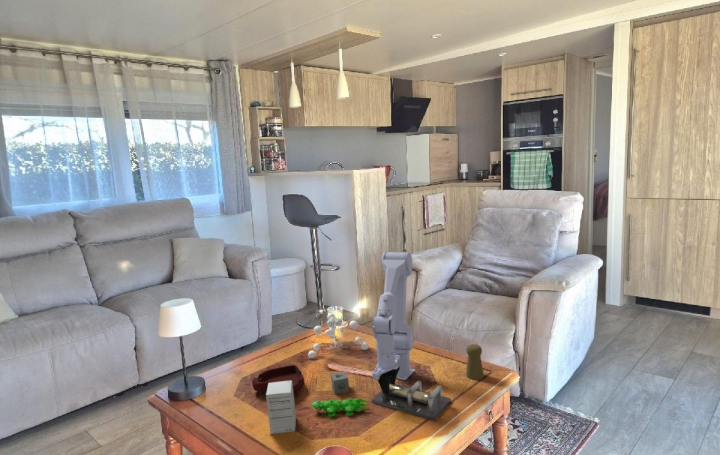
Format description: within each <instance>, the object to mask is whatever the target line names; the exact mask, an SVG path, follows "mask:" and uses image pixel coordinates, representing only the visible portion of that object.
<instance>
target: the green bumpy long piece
mask: <svg viewBox="0 0 720 455" xmlns="http://www.w3.org/2000/svg"><path fill="white" fill-rule="evenodd" d="M310 405H311V406H312V407H313V408H314V409H315V410H316V412H317V413H319V411H322V410H323V411H324V412H325V413H326V414H327V413H328V414H327V416H328V417H335V416H336V415H337V414H336V412H337V413H339V412H341V411H343V412H346V413H345V416H349V417H350V416H353V415H354V414H355V413H354V412H361V411H363V410H367V409H369V406H368V405H369V400H367V399H362V398H360V397H356V398H354V399H352V397H351V398H348V399H346V398H344V399H343V400H339V399H336V400H333V399H331V398H330V399H329V400H328V399H325V401H323V400H316V401H313V402H312V403H311V404H310Z"/></svg>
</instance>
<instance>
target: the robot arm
mask: <svg viewBox="0 0 720 455" xmlns="http://www.w3.org/2000/svg"><path fill="white" fill-rule="evenodd" d="M381 267H382V268H383V271H384V273H385V277H384V278H385V280H384V290H383V293H382V294H381V295H380V296H379V300H378V307H377V311H376V312H377V313H376V316H374V317H373V320H372V328H371V329H372V331H373V335H374V339H376V340H375V342H376V358H377V363H376V366H375V369H374V371H373V372H371V373H372V376H371V377H372V380H376V381H377V382H378V384H379V386H380V391H381V390H382V393H385V394H388V393H389V384H394V385H395V384H396V381H397V380H403V381H406V380H407V379H408V378H409V377H410V376H412V375H413V373H414V372H416V369H414V368H411V358H410V352H411V351H412V349H413V348H414V340H415V338H414V331H413V328H412V327H411V326H410V325H408V323H407V322H406V309H407V308H406V305H407V304H406V303H407V300H406V299H407V279H408V277H409V276H411V275H412V273H413V256H412V254H411V252H409V251H406V252H405V251H404V252H402V251H399V252H398V251H397V252H396V251H395V252H394V251H391V252H389V251H385V252H383V253H382V256H381ZM396 379H397V380H396Z"/></svg>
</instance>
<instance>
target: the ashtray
mask: <svg viewBox="0 0 720 455" xmlns="http://www.w3.org/2000/svg"><path fill="white" fill-rule="evenodd" d="M251 381H252V384H251V385H252V389H253V390H254V391H256V392H257V393H259V394H265V393H267V388H268V383H272V382H281V381H292V385H293V394H294V397H295V396H297V395H298V394H299V393H300V392H302V390H303V388H304V387H305V377H304V374H303V373H302V370H300V368H299V367H298V366H297V365H296V364H292V365H287V366H286V365H285V366H280V367H276V368H271V369H265V370H263V371H262V372H261V373H259V374H258V376H257V377H254V378H253V379H252V380H251ZM264 392H265V393H264Z"/></svg>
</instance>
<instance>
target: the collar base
mask: <svg viewBox="0 0 720 455" xmlns="http://www.w3.org/2000/svg"><path fill="white" fill-rule="evenodd" d="M395 385H397V386H401V387H405V388H408V389H409V390H408V391H407V393H408V399H407V398H404V397H400V396H397V395H393V394H390V393H388V394H385V393H382V391H381V390H380V392H378V393H377V395H375V396H374V397H373V398H372V399H371V403H372V404H376V405H379V406H382V407H386V408H390V409H393V410H395V411H400V412H404V413H407V414H409V415H414V416H418V417H421V418H424V419H428V420H430V421H431V420H432V421H434V422H436V421H437V419H439V417H440V416H441V414H442V413H443V412H444V411H445V409H446V408H447V407H448V406H449V404H450V403H451V402H452V398H451V397H447V396H444V395H443V387H442V386H443V385H439V384H438V385H437V386H436V387H435V388H434V389H433V391H432V392H429V391H423V389H422V388H423V387H422V381H421V380H417V381H416V382H415V383H414V384H413V385H411V387H408V386H406V385H405V386H404V385H402V384H401V385H400V384H397V383H395ZM415 390H416V391H419V392H423V393H427V394H429V396H428V404H425V403H421V402H418V401H414V400H413V392H414V391H415Z"/></svg>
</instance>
